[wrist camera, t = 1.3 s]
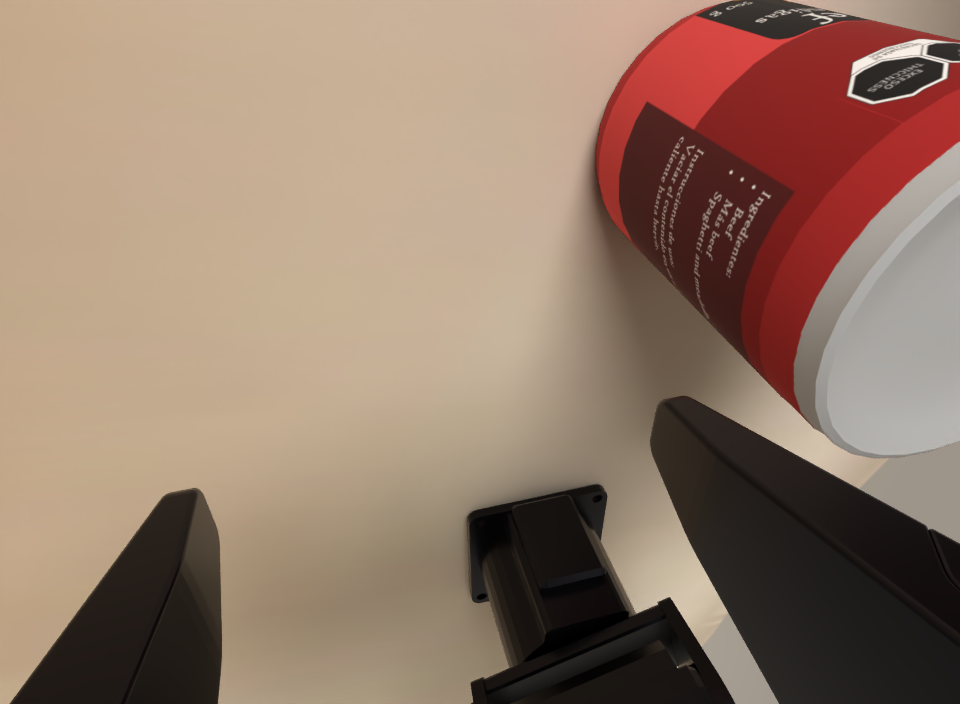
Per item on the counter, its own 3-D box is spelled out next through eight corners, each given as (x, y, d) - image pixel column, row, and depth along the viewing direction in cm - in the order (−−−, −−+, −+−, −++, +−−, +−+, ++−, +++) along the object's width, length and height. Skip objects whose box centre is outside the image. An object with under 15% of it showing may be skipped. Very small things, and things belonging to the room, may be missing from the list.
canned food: (857, 92, 21) (1255, 238, 13) (686, 278, 24) (916, 502, 15) (726, -78, 17) (1180, -34, 9) (538, 169, 20) (738, 390, 11)
